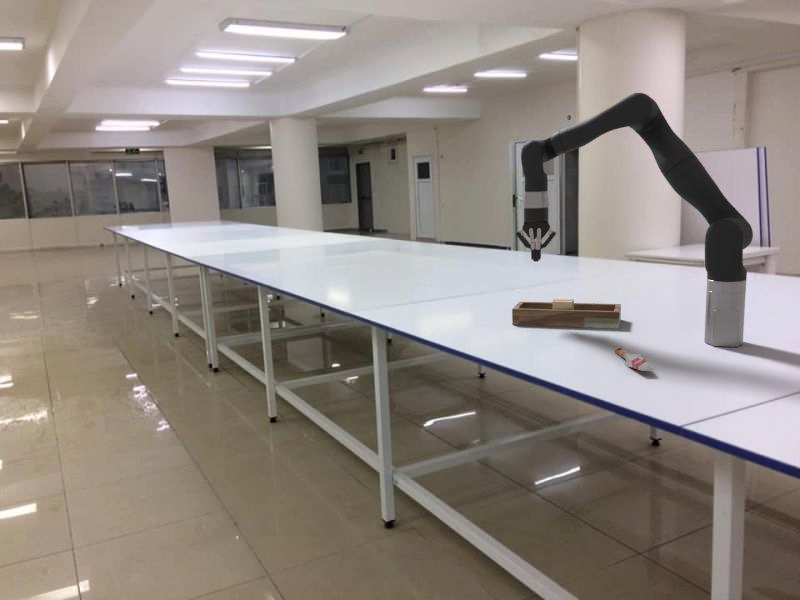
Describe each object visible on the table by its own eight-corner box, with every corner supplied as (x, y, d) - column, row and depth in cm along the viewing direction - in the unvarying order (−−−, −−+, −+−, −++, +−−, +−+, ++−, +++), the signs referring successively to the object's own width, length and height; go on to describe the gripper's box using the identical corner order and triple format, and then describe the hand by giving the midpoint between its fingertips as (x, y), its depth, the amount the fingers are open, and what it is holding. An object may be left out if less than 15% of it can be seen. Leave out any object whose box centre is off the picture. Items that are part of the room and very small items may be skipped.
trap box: (618, 328, 189) (619, 312, 188) (512, 324, 201) (512, 309, 200) (620, 319, 200) (620, 304, 199) (519, 316, 212) (519, 301, 211)
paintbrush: (639, 364, 145) (611, 345, 164) (639, 376, 145) (611, 355, 165) (656, 363, 145) (625, 344, 164) (656, 375, 145) (626, 355, 165)
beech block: (571, 314, 197) (572, 302, 196) (552, 314, 199) (552, 301, 198) (573, 311, 201) (573, 299, 200) (554, 310, 203) (554, 298, 203)
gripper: (512, 207, 196) (513, 262, 199) (555, 206, 191) (555, 263, 195) (517, 205, 203) (517, 259, 206) (559, 204, 198) (559, 259, 201)
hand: (536, 261), depth 200 cm, fingers closed
